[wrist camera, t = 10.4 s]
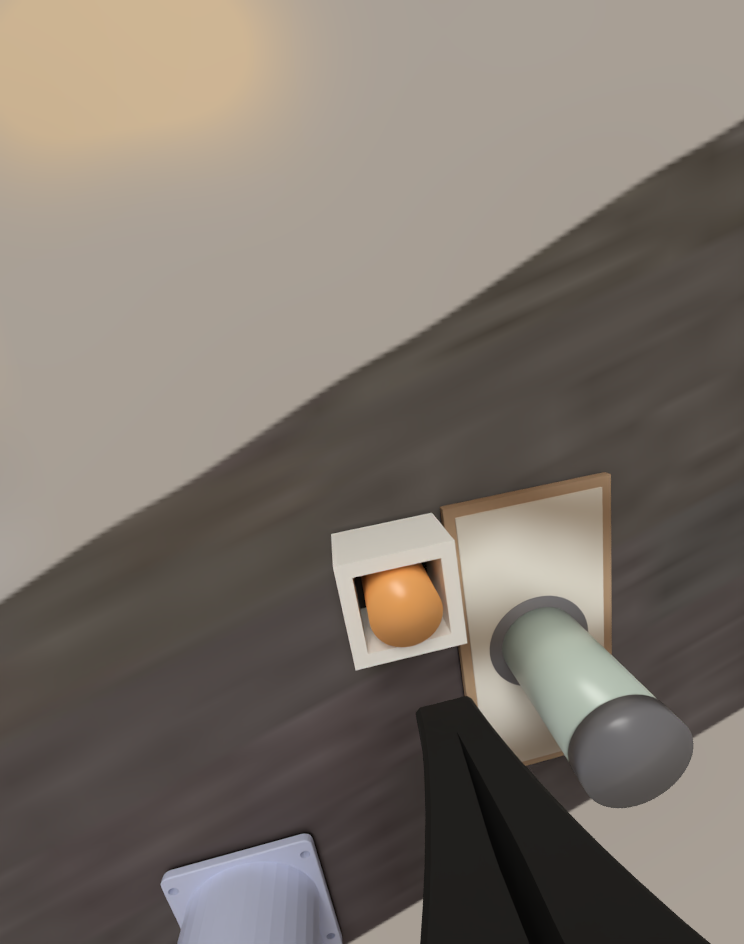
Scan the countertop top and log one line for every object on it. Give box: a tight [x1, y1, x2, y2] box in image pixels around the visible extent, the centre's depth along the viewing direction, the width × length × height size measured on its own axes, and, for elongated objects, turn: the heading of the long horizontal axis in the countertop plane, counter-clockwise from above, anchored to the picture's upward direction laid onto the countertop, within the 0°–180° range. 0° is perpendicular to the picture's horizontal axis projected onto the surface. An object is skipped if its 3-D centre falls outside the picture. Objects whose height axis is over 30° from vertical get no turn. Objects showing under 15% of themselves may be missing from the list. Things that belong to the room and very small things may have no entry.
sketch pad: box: [440, 472, 612, 766], centre depth 19 cm, size 16×8×1 cm, turn 10°
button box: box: [331, 513, 467, 670], centre depth 16 cm, size 5×5×3 cm
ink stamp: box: [502, 607, 693, 808], centre depth 16 cm, size 4×4×6 cm
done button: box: [361, 563, 443, 647], centre depth 15 cm, size 3×3×3 cm
